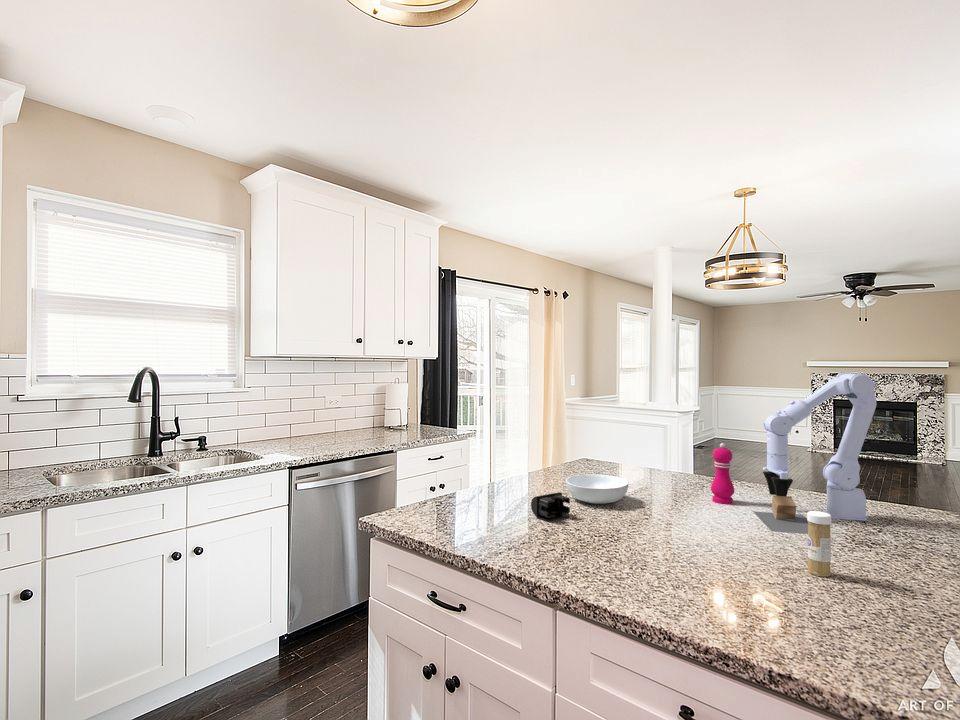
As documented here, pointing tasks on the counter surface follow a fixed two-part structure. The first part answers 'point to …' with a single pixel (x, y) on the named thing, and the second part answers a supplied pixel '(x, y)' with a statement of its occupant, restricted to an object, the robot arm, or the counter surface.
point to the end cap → (550, 507)
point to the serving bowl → (597, 488)
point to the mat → (784, 523)
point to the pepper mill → (722, 476)
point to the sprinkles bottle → (819, 543)
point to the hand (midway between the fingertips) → (777, 497)
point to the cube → (783, 508)
